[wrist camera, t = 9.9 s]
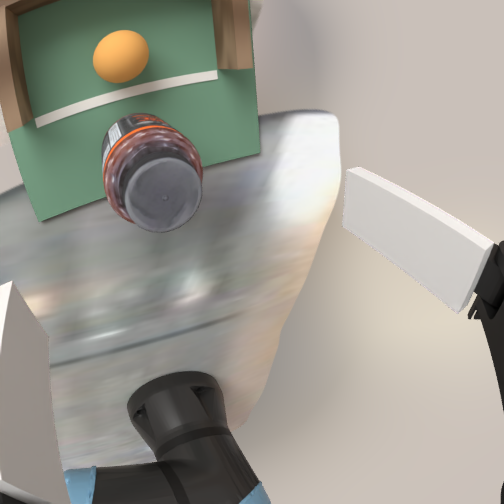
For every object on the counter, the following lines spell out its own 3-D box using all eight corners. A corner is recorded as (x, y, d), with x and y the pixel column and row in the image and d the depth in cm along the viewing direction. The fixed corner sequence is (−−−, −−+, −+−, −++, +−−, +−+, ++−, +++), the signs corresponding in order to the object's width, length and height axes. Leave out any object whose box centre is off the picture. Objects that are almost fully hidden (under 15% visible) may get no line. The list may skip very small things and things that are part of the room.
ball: (150, 19, 15) (150, 38, 19) (90, 26, 14) (99, 44, 17) (148, 72, 16) (148, 85, 20) (86, 80, 15) (96, 91, 19)
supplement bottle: (181, 122, 24) (240, 157, 15) (158, 187, 26) (200, 257, 18) (113, 102, 20) (127, 124, 12) (92, 173, 22) (95, 243, 14)
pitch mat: (258, 151, 29) (260, 153, 29) (39, 220, 22) (38, 222, 22) (241, -65, 16) (244, -67, 15) (-10, -18, 9) (-11, -20, 8)
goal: (230, 67, 23) (252, 68, 20) (20, 123, 17) (7, 132, 14) (222, -37, 17) (243, -50, 14) (3, 9, 11) (-12, 0, 8)
